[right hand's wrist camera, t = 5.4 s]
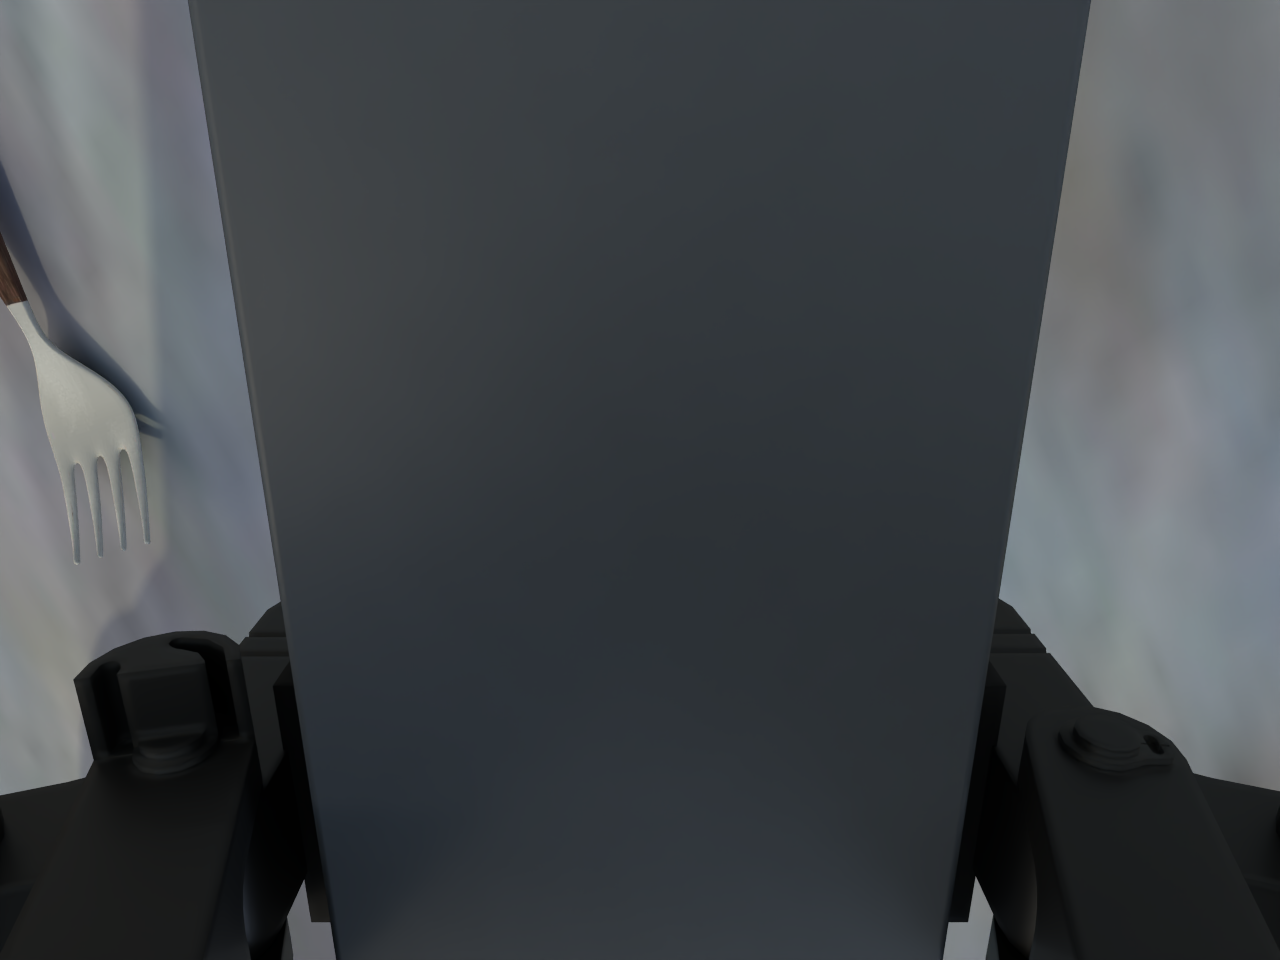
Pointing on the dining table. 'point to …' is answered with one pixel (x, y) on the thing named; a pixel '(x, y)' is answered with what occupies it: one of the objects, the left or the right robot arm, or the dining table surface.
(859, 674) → the bar
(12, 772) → the dining table surface
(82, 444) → the fork
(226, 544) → the dining table surface
